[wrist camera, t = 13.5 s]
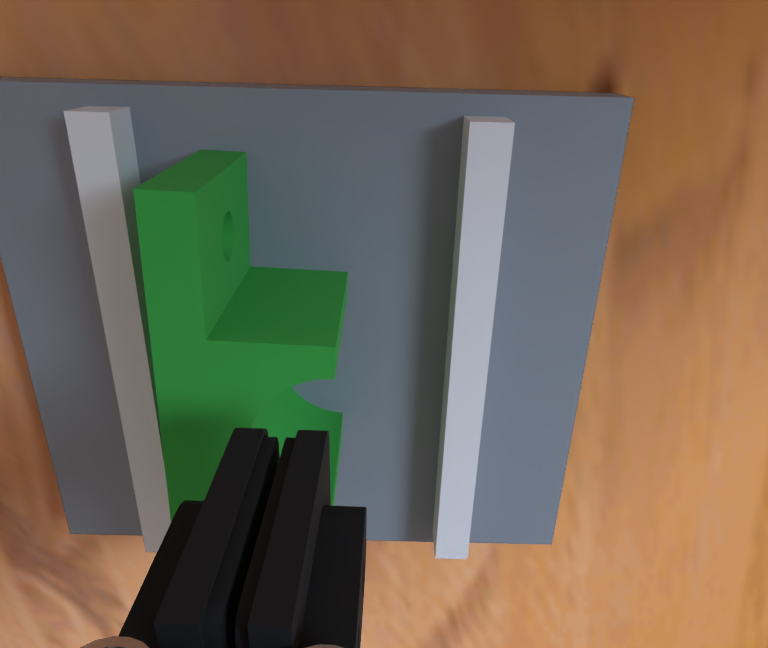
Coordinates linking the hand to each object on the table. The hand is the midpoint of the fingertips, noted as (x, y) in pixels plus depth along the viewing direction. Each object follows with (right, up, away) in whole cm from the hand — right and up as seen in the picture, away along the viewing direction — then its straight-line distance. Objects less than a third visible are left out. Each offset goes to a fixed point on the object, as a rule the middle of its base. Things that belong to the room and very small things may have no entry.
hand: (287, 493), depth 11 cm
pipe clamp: (-1, +2, +6) cm, 7 cm away
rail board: (0, +3, +8) cm, 8 cm away
